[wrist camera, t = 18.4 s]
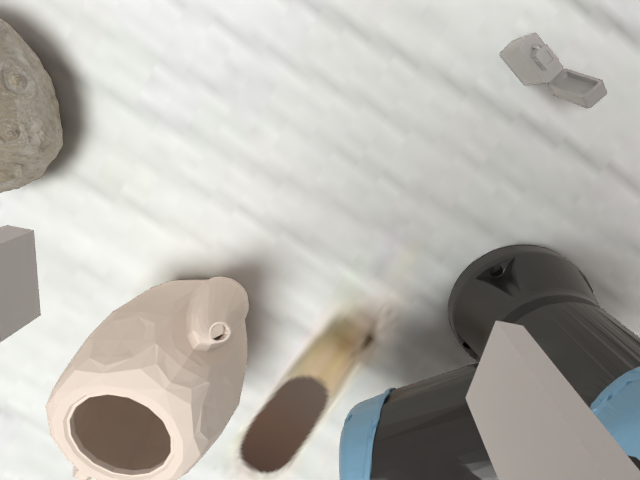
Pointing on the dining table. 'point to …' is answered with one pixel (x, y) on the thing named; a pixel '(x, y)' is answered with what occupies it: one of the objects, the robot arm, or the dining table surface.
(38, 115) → the grey rounded rock
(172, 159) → the dining table surface
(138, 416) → the cream ceramic pot
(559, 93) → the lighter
